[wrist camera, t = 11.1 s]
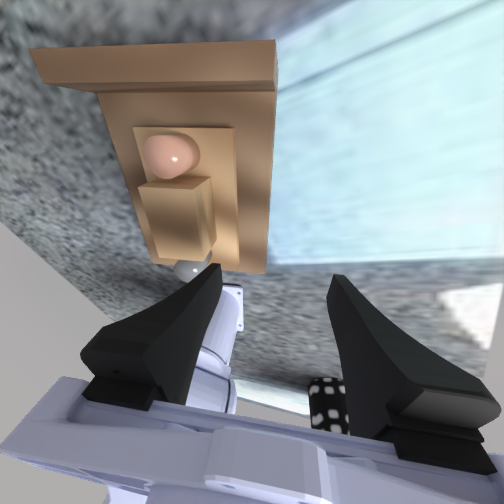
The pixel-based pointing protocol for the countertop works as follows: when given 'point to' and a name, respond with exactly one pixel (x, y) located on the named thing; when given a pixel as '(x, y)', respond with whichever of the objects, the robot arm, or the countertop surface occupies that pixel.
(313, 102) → the countertop surface
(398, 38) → the countertop surface
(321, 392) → the spotted tube
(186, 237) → the wooden stand
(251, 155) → the light wood stepped block
